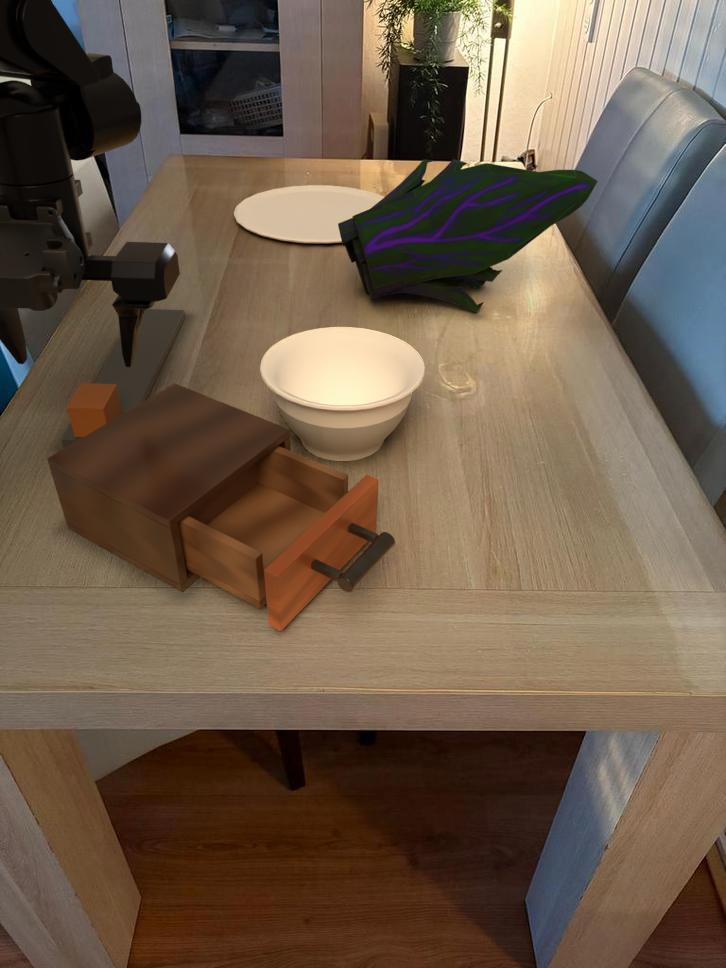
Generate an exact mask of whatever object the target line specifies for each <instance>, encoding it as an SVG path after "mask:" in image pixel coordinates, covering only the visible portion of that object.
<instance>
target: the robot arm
mask: <svg viewBox="0 0 726 968" xmlns="http://www.w3.org/2000/svg"><path fill="white" fill-rule="evenodd" d="M0 77H3V78H9V79H11V78H12V79H11V80H5V81H1V82H0V342H1V343H2V344H3V346H4V347H5V348H6V350H7V351H8V352H9V354H10V355H11V357H12V358H13V359H14V360H15V362H16V363H17V364H18V365H24V364H25V363H26V362H27V360H28V353H27V352H28V351H27V342H26V338H25V334H24V333H25V332H24V328H23V324H22V321H21V316H20V311H19V309H29V310H31V311H35V312H43V311H47V310H50V309H51V308H53V307H54V306H55V305H56V303H57V301H58V298H59V296H58V295H59V294H62V293H63V291H64V290H79V289H80V287H81V284H82V281H95V282H96V281H98V282H100V281H102V282H110V283H111V287H112V291H113V292H114V293H115V294H116V295H117V297H116V298H115V300H113V303H112V305H111V306H112V308H113V309H114V311H115V313H116V314H117V317H118V327H119V337H120V340H121V348H122V355H123V359H124V363H125V366H126V367H131V365H132V363H133V360H134V356H135V351H136V347H137V342H138V337H139V333H140V328H141V324H142V319H143V315H144V312H145V309H152V307H153V306H154V305H155V303H156V302H161V301H165V300H167V298H168V297H169V295H170V293H171V291H172V290H173V288H174V286H175V284H176V282H177V280H178V278H179V276H180V275H181V274H180V264H179V257H178V254H177V252H176V250H175V249H174V248H173V247H172V246H171V245H170V243H168V242H153V241H152V242H150V241H147V242H146V241H126V242H125V244H123V246H122V248H121V249H120V250H119V251H118V253H117V254H116V255H101V254H100V255H99V254H97V255H96V254H95V255H94V254H90V249H91V248H92V247H93V245H94V243H93V238H92V234H91V233H92V232H88V231H86V229H85V223H84V219H83V214H82V209H81V204H80V199H79V197H81V195H83V193H84V191H83V186H82V182H81V181H82V180H81V179H76V178H75V173H74V168H73V165H72V161H77V162H79V161H84V160H88V159H90V158H93V157H96V156H99V155H102V154H104V153H108V152H110V151H113V150H115V149H119V148H121V147H124V146H128V145H129V144H132V143H133V142H134V141H135V140H136V139H137V138H138V136H139V133H140V131H141V127H142V121H143V119H142V109H141V108H142V107H141V104H140V103H139V102H138V100H137V98H136V95H135V94H134V92H133V90H132V88H131V87H130V85H129V84H128V83H127V82H126V80H125V79H124V78H123V77H121V76H120V75H119V74H117V73H116V72H115V71H114V64H113V58H112V56H111V55H110V54H101V53H92V52H91V53H90V52H89V53H86V52H85V50H84V48H83V46H82V45H81V43H80V42H79V40H78V39H77V38H76V36H75V34H74V33H73V32H72V30H71V28H70V27H69V25H68V24H67V22H66V21H65V19H64V17H63V16H62V14H61V13H60V11H59V10H58V9H57V7H56V6H55V5H54V2H53V1H52V0H0ZM14 79H15V80H14ZM17 79H19V80H17ZM21 80H25V81H26V80H27V81H29V82H30V83H27V82H24V81H21Z"/></svg>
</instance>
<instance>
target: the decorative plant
mask: <svg viewBox="0 0 726 968" xmlns="http://www.w3.org/2000/svg"><path fill="white" fill-rule="evenodd" d="M432 162H434V160H432V159H426V158H424V159H422V160H421V161H420V162H419V164H418V165H417V166H416V168H414V169H413V170H412V171H411V172H410V173H409V174H408V175H407V176H406V177H405V178H404V179H403V180H402V181H401V182H400V183H399V184H398V185H397V186H396V187H394V189H392V190H391V191H390V192H389V193H387V194H386V195H385V196H384V198H383V199H382V200H380V201H379V202H378V203H377V204H375V205H374V206H373V207H372V208H370V209H369V210H366V211H364V212H361V213H359V214H356V215H354V216H352V217H353V218H351V219H348V220H346V221H343V222H341V223H338V227H339V232H340V236H341V240H342V242H341V244H342V247H345V250H346V253H347V255H348V258H349V260H350V262H351V264H352V263H355V265H356V268H357V272H358V275H359V278H360V281H361V284H362V287H363V290H364V293H365V294H368V295H369V297H370V299H371V300H374V299H377V298H380V297H384V296H387V295H396V294H412V295H418V296H423V297H426V298H427V297H428V298H432V299H436V300H440V301H444V302H446V303H447V302H448V303H451V304H453V305H456V306H459V307H462V308H465V309H467V310H469V311H472V312H474V313H476V314H477V313H478V312H479V310H480V309H481V307H482V306H483V304H484V303H485V302H484V301H483V302H480V303H478V304H477V303H476V302H475V300H474V299H473V298H472V296H471V295H470V294H469V293H468V292H466V290H464V289H463V288H466V287H467V288H473V289H478V290H479V289H480V288H482V287H483V286H484V285H485V284H486V282H489V283H493V282H494V280H495V279H496V278H497V277H498V276H499V275H500V274H501V273H502V272H503V269H499V270H498V269H494V268H493V266H495V265H498V264H500V263H503V262H505V261H508V260H510V259H511V258H512V257H514V256H515V255H516V254H518V253H519V252H520V251H521V250H522V249H524V248H525V247H526V246H528V245H529V244H530V243H531V242H533V241H534V240H535V239H537V237H539V236H540V235H541V234H543V233H544V232H545V231H546V230H548V229H549V228H551V227H552V226H553V225H555V224H558V223H559V222H560V221H562V220H564V219H565V218H567V217H569V216H571V215H572V214H573V213H574V212H576V211H577V210H579V209H580V208H581V207H582V206H583V205H584V204H585V203H586V202H587V201H588V199H589V197H590V196H591V194H592V192H593V190H594V189H595V187H596V185H597V183H598V180H597V179H595V178H594V177H592V176H591V175H589V174H588V173H586V172H585V171H583V170H578V169H552V170H543V171H536V170H530V169H524V168H518V167H512V166H508V165H507V166H506V165H502V164H501V165H500V164H495V163H494V164H493V163H488V162H485V163H481V164H477V165H473V166H469V167H464V166H467V165H468V164H469V162H466V161H463V160H458V159H455V158H453V159H452V160H451V161H450V162H449V163H448V164H447V165H446V166H445V167H444V168H443V169H442V170H441V171H440V172H439V173H438V174H437V175H436V176H435V177H433V178H432V179H431V180H430V181H428V182H426V180H425V179H423V178H424V176H425V174H426V173H427V167H428V164H429V163H432ZM463 167H464V168H463ZM425 182H426V183H425Z"/></svg>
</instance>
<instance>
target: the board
mask: <svg viewBox="0 0 726 968" xmlns="http://www.w3.org/2000/svg"><path fill="white" fill-rule="evenodd" d="M185 319H186V310H185V309H162V308H161V309H159V308H149V309H145V312H144V315H143V319H142V324H141V328H140V333H139V337H138V342H137V347H136V351H135V356H134V360H133V363H132V365H131V367H126V366H125V363H124V359H123V355H122V348H121V339H120V340H119V341H118V343H117V344H116V347H114V350H113V351H112V353H111V355H110V357H109V358H108V360H107V362H105V365H104V367H102V370H101V372H100V373H99V375H98V377H97V378H96V380H95V381H94V384H116V385H117V389H118V393H119V398H120V403H121V408H122V412H123V414H124V413H125V412H127V411H129V410H130V409H132V408H134V407H135V406H137V405H139V404H141V403H142V402H144V401H146V400H147V399H148V398H149V395H150V394H151V390H153V389H152V388H153V387H154V384H155V382H156V380H157V378H158V376H159V374H160V371H161V369H162V368H163V365H164V363H165V361H166V359H167V357H168V354H169V352H170V350H171V348H172V346H173V344H174V342H175V340H176V338H177V336H178V333H179V331H180V329H181V327H182V325H183V323H184V321H185ZM79 439H81V438H78V437H75V436H74V433H73V429H72V425H71V423H70V424H69V425H68V427H67V429H66V431H65V432H64V434H63V436H62V437H61V444H62V448H66V447H67V446H69V445H71V444H73V443H74V442H76V441H78V440H79Z"/></svg>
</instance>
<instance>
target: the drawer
mask: <svg viewBox="0 0 726 968" xmlns="http://www.w3.org/2000/svg"><path fill="white" fill-rule="evenodd" d="M379 481H380V480H379V479H378V478H375V477H374V476H371V475H369V474H366V475H365V476H364V477H362V478H361V479H360V480H359V481H358V482H357V483H356V484H354V486H353V487H352V488H351V489H349V475H348V474H347V473H344V472H343V471H340V470H338V469H335V468H332V467H330V466H328V465H325V464H323V463H320V462H318V461H315V460H313V459H311V458H308V457H306V456H304V455H302V454H299V453H296V452H294V451H292V450H291V451H289V450H287V449H285V448H282V447H280V446H277V447H276V448H275V449H273V450H272V451H271V452H269V453H268V454H267V455H265V456H264V457H263V458H261V459H260V460H259V461H258V462H256V463H255V464H254V465H252V466H251V467H250V468H248V469H247V470H246V471H245V472H243V473H242V474H241V475H239V476H238V477H237V478H235V479H234V480H233V481H231V482H230V483H229V484H228V485H226V486H225V487H224V488H222V489H221V490H220V491H218V492H217V493H216V494H215V495H213V496H212V497H211V498H209V499H208V500H207V501H205V502H204V503H203V504H201V505H200V506H199V507H198V508H196V509H195V510H194V511H192V512H191V513H190V514H188V515H187V516H186V517H185V518H183V519H182V520H181V521H179V522H178V527H179V533H180V539H181V544H182V550H183V556H184V561H185V567H186V569H187V570H189V571H191V572H193V573H195V574H197V575H199V576H200V577H199V578H202V579H204V580H206V581H208V582H210V583H211V584H213V585H215V586H216V587H219V588H220V589H222V590H224V591H226V592H228V593H230V594H232V595H234V596H236V597H237V598H239V599H241V600H243V601H245V602H246V603H249V604H251V605H253V606H254V607H256V608H258V609H262V608H263V607H264V606H265V605H266V610H267V611H266V612H267V621H268V623H267V624H268V625H269V626H270V627H272V628H274V629H276V630H277V631H279V632H282V631H283V630H284V629H285V627H287V625H289V623H290V622H292V620H294V618H295V617H296V616H297V615H298V614H299V613H300V612H301V611H302V610H303V609H304V608H305V607H306V606H307V605H308V604H309V603H310V602H311V601H312V600H313V598H315V597H316V595H317V594H318V593H319V592H320V591H322V589H323V588H324V587H325V586H326V585H327V584H328V583H329V582H330V581H331V580H333V581H335V582H337V584H338V587H339V588H340V589H341V591H343V592H345V593H352V592H353V591H354V590H355V589H356V588H357V587H358V586H359V584H361V582H363V580H364V579H365V578H366V577H367V576H368V575H369V573H371V572H372V570H373V569H374V568H375V567H376V566H377V565H378V564H379V563H380V562H381V560H382V559H383V558H384V557H385V556H386V555H387V554H388V553H389V552H390V551H391V550H392V549H393V547H394V546H395V545H396V540H395V538H394V536H393V535H392V534H391V533H390V532H387V531H382V532H380V533H377V529H378V528H377V525H378V524H377V523H378V504H379V503H378V502H379V483H380V482H379ZM367 542H370V544H369V545H368V546H367V547H366V548H365V549H364V550H363V551H362V552H361V554H359V556H357V558H356V559H354V561H353V562H352V563H351V564H350V565H349V566H348V567H347V568H346V569H345V570H344V571H341V570H342V569H343V568H344V567H345V565H347V563H348V562H349V561H350V560H351V559H352V558H353V557H354V556H355V555H356V554H357V553H358V552H359V551H360V550H361V549H362V548H363V547H364V546H365V545H366V543H367Z"/></svg>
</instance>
